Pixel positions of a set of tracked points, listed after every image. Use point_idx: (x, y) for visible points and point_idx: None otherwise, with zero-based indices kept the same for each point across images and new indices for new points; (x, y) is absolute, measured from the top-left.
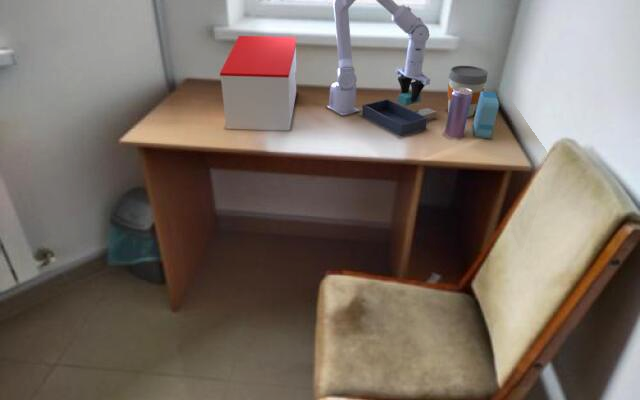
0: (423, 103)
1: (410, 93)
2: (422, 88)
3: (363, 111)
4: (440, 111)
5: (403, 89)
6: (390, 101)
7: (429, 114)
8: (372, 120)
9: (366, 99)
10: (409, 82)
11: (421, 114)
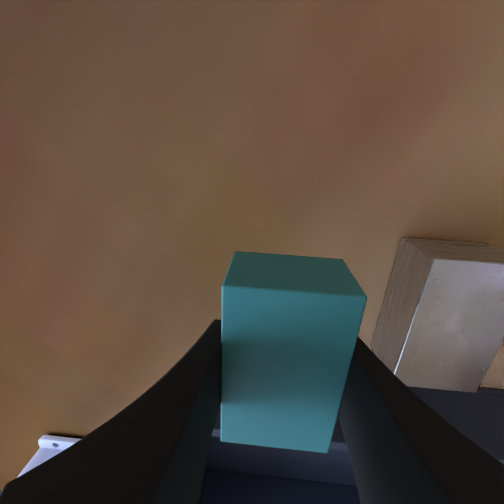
0: (235, 61)
1: (268, 363)
2: (491, 464)
3: (201, 498)
4: (448, 77)
5: (208, 439)
6: (219, 435)
7: (500, 329)
8: (270, 483)
9: (21, 336)
10: (180, 463)
11: (463, 382)
